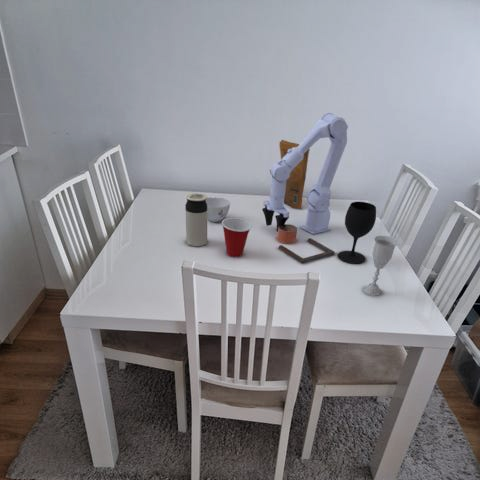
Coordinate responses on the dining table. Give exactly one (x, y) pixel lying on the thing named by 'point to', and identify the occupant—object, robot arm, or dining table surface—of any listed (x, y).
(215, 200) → the teacup
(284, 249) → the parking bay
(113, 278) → the dining table surface
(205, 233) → the travel mug
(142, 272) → the dining table surface
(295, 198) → the pancake mix bag
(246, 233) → the plastic cup
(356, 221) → the wine glass
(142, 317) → the dining table surface
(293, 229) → the tin can
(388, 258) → the chalice
